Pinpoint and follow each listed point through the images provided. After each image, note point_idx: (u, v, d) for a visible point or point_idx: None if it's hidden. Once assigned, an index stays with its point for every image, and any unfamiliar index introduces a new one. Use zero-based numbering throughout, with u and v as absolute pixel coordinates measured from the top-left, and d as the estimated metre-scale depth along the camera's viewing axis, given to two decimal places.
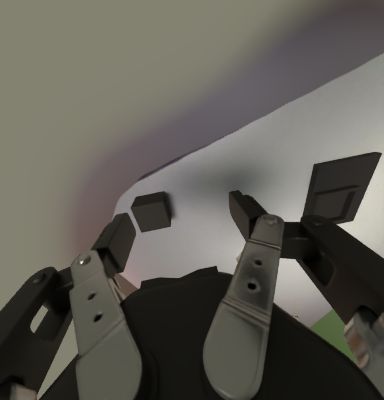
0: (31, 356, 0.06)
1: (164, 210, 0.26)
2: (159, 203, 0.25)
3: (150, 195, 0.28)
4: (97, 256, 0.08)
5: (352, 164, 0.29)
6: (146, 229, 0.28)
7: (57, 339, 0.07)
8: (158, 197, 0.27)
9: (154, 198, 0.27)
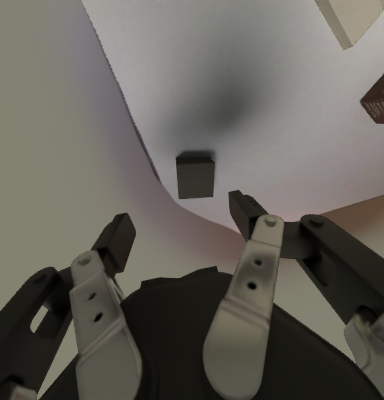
0: (31, 356, 0.06)
1: (189, 165, 0.21)
2: (178, 169, 0.22)
3: None
4: (97, 256, 0.08)
5: None
6: (210, 190, 0.24)
7: (57, 339, 0.07)
8: None
9: None
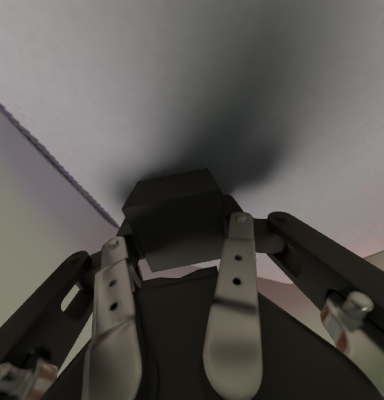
0: (59, 332, 0.06)
1: (155, 205, 0.08)
2: (130, 218, 0.08)
3: None
4: (125, 241, 0.08)
5: None
6: (219, 247, 0.10)
7: (82, 319, 0.07)
8: None
9: None
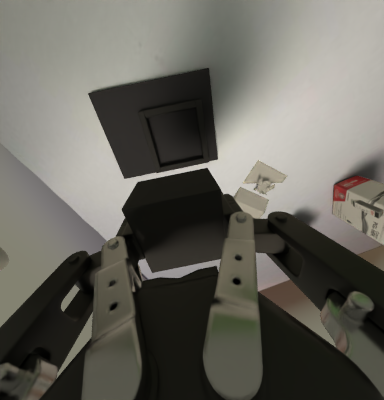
0: (59, 332, 0.06)
1: (155, 205, 0.08)
2: (130, 218, 0.08)
3: None
4: (125, 241, 0.08)
5: (113, 135, 0.22)
6: (219, 247, 0.10)
7: (82, 320, 0.07)
8: None
9: None
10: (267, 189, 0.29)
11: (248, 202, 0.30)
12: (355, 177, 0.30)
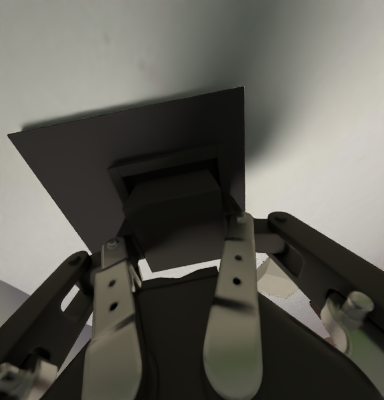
0: (59, 332, 0.06)
1: (155, 205, 0.08)
2: (130, 218, 0.08)
3: None
4: (125, 241, 0.08)
5: (68, 200, 0.12)
6: (219, 247, 0.10)
7: (82, 319, 0.07)
8: None
9: None
10: None
11: (282, 273, 0.21)
12: None
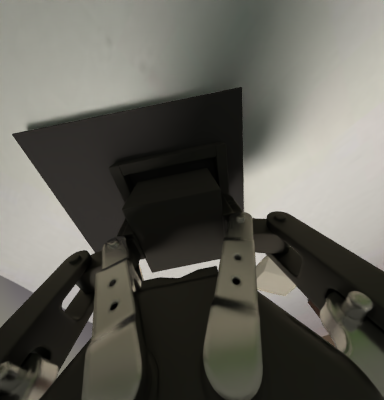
0: (59, 332, 0.06)
1: (155, 205, 0.08)
2: (130, 218, 0.08)
3: None
4: (126, 241, 0.08)
5: (70, 198, 0.13)
6: (218, 247, 0.10)
7: (83, 319, 0.07)
8: None
9: None
10: None
11: (280, 271, 0.21)
12: None
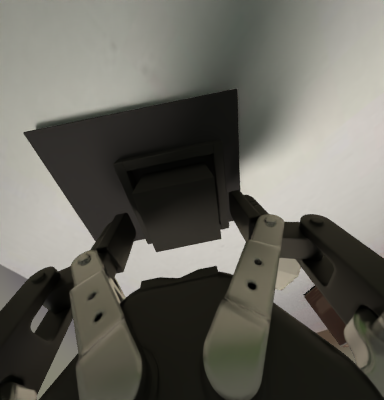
0: (31, 356, 0.06)
1: (159, 190, 0.10)
2: (138, 202, 0.10)
3: None
4: (97, 256, 0.08)
5: (76, 193, 0.14)
6: (213, 229, 0.12)
7: (57, 339, 0.07)
8: None
9: None
10: None
11: None
12: None
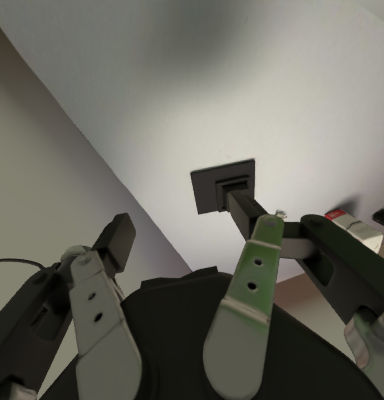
0: (31, 356, 0.06)
1: None
2: (227, 195, 0.36)
3: (223, 196, 0.39)
4: (97, 256, 0.08)
5: (198, 193, 0.39)
6: None
7: (56, 339, 0.07)
8: (224, 193, 0.37)
9: (224, 195, 0.38)
10: (282, 218, 0.46)
11: None
12: (338, 210, 0.48)
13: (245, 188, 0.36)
